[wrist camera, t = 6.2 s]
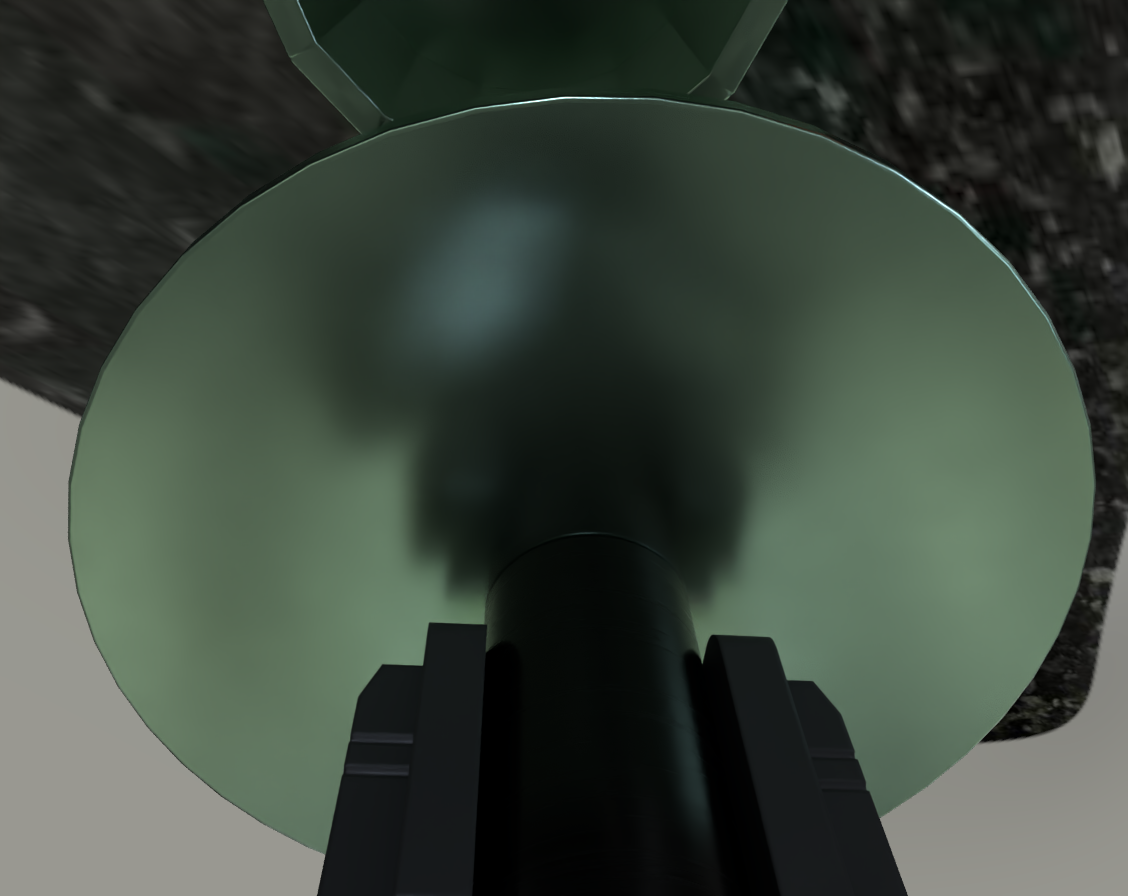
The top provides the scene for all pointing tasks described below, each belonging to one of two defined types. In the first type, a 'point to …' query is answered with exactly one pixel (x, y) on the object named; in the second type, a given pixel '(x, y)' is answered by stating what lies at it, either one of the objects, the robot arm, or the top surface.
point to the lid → (581, 470)
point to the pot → (514, 48)
